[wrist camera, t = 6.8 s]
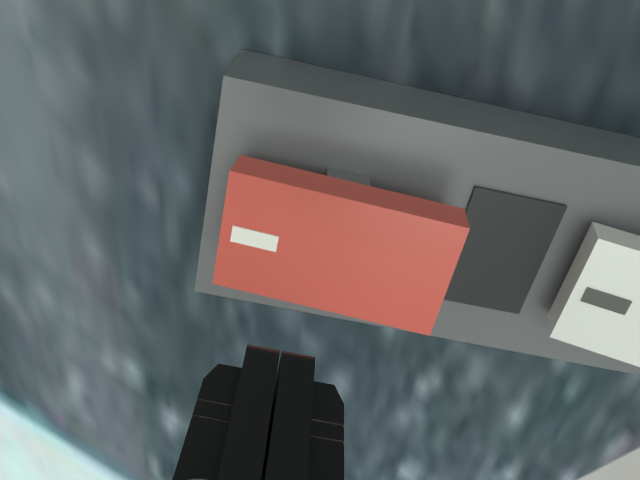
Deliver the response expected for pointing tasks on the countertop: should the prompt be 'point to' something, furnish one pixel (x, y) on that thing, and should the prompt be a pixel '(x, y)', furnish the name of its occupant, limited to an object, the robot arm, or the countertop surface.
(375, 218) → the block
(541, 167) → the rocker switch panel
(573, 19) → the countertop surface
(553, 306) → the white rocker
